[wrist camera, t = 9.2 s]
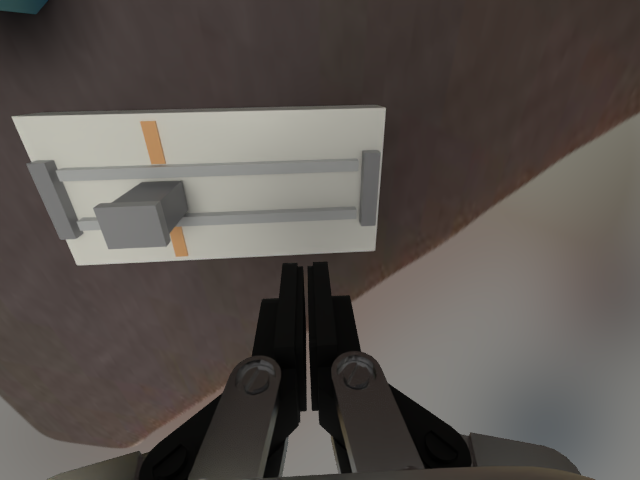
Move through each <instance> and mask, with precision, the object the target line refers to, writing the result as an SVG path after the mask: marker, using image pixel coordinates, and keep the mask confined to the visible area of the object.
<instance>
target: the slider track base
mask: <svg viewBox="0 0 640 480" xmlns="http://www.w3.org/2000/svg"><path fill="white" fill-rule="evenodd" d="M385 113H386V108H385V107H382V106H379V105H340V106H297V107H253V108H209V109H165V110H121V111H77V112H41V113H34V114H26V115H19V116H12V119H13V121H14V124H15V126H16V128H17V130H18V133H19V135H20V137H21V139H22V142H23V144H24V146H25V149H26V151H27V153H28V155H29V158H30V160H31V162H30V163H27V164H26V165H27V167H28V169H29V171H30V173H31V176H32V178H33V180H34V182H35V185H36V187H37V189H38V191H39V193H40V196H41V198H42V200H43V202H44V205H45V207H46V209H47V211H48V213H49V216H50V218H51V220H52V222H53V224H54V227H55V229H56V231H57V233H58V236H59V238H60V240H65V239H66V241H67V244H68V246H69V248H70V250H71V253H72V255H73V257H74V259H75V262H76V264H77V265H97V264H117V263H138V262H158V261H178V260H199V259H219V258H240V257H260V256H280V255H301V254H321V253H341V252H362V251H375V245H376V232H377V219H378V206H379V193H380V179H381V166H382V153H383V140H384V127H385ZM159 181H182V183H183V188H184V192H185V196H186V201H187V205H188V211H187V212H186V214H185V215H184V216H183V217H182V219H181V220H180V221H179V222H178V224H177V225H176V226H175V227H174V229H173V230H172V231H171V232H170V234H169V235H170V239H171V241H170V243H169V244H168V245H167V247H147V248H125V249H108V247H107V244H106V242H105V239H104V236H103V234H102V231H101V228H100V226H99V223H98V220H97V218H96V215H95V212H94V210H93V208H94V207H95V206H97V205H98V204H100V203H112V202H113V201H115V200H116V199H118V198H119V197H120V196H122V195H123V194H125V193H126V192H128V191H129V190H131V189H132V188H134V187H135V186H137V185H138V184H140V183H141V182H159Z"/></svg>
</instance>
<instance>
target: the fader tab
mask: <svg viewBox="0 0 640 480" xmlns="http://www.w3.org/2000/svg"><path fill="white" fill-rule="evenodd" d="M93 210H94V212H95V215H96V218H97V220H98V223H99V226H100V228H101V231H102V234H103V236H104V239H105V242H106V244H107V247H108V249H125V248H147V247H167V245H168V244H169V243H170V241H171V239H170V235H169V234H170V232H171V231H172V230H173V229H174V227H175V226H176V225H177V224H178V222H179V221H180V220H181V219H182V217H183V216H184V215H185V214H186V212H187V211H188V205H187V201H186V196H185V192H184V188H183V183H182V181H159V182H141V183H140V184H138V185H137V186H135V187H134V188H132V189H131V190H129V191H128V192H126V193H125V194H123V195H122V196H120V197H119V198H118V199H116V200H115V201H113V202H112V203H100V204H98V205H97V206H95V207H94V208H93Z"/></svg>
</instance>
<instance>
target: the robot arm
mask: <svg viewBox="0 0 640 480" xmlns="http://www.w3.org/2000/svg"><path fill="white" fill-rule="evenodd" d="M308 315H309V352H310V353H309V354H310V377H311V399H312V411H318V410H319V423H320V425H321V426H322V427H323V428H324V429H325V430H326V431H327V432H328V433H330V434H331V442H332V447H333V451H334V456H335V460H336V465H337V469H338V474H327V475H310V476H293V477H282V474H283V468H284V463H285V458H286V452H287V446H288V436H289V435H290V434H291V433H292V432H293V431H294V430H295V429H296V428H297V427H298V425H299V422H300V411H306V410H307V405H306V404H307V403H306V402H307V401H306V400H307V399H306V316H305V296H304V275H303V266H301V267H298V265H297V263H283V265H282V275H281V284H280V294H279V298H274V299H262V302H261V307H260V313H259V318H258V324H257V330H256V335H255V341H254V347H253V352H252V357H249V358H246V359H245V360H243V361H241V362H240V363H239V364H238V365H237V366H236V367H235V368H234V369H233V371H232V372H231V374H230V376H229V379H228V381H227V384H226V386H225V389H224V391H223V393H222V394H221V395H219V396H218V397H217V398H216V399H214V400H213V401H212V402H211V403H209V404H208V405H207V406H206V407H204V408H203V409H202V410H200V411H199V412H198V413H197V414H195V415H194V416H193V417H191V418H190V419H189V420H188V421H186V422H185V423H184V424H182V425H181V426H180V427H179V428H177V429H176V430H175V431H173V432H172V433H171V434H170V435H168V436H167V437H166V438H165V439H163V440H162V441H161V442H159V443H158V444H157V445H156V446H155V447H154V448H153V449H152V450H151V451H150V452H148V453H144V454H141V453H140V451H137V452H133V453H130V454H126V455H123V456H120V457H116V458H113V459H109V460H106V461H102V462H99V463H95V464H92V465H88V466H85V467H81V468H78V469H74V470H71V471H67V472H64V473H60V474H58V475H56V476H53V477H51V478H49V479H47V480H595V479H592V478H589V477H586V476H582V475H581V474H580V472H579V471H578V469H577V467H576V466H575V465H574V464H573V463H572V462H570V460H569V459H568V458H567V457H565V456H564V455H562V454H561V453H559V452H558V451H556V450H554V449H552V448H549V447H546V446H542V445H536V444H531V443H525V442H520V441H514V440H509V439H504V438H498V437H493V436H487V435H482V434H476V433H470V435H469V436H466V435H461V434H459V433H458V432H457V431H456V430H455V429H453V428H452V427H451V426H449V425H448V424H446V423H445V422H444V421H442V420H441V419H439V418H438V417H436V416H435V415H433V414H432V413H431V412H429V411H428V410H426V409H425V408H423V407H422V406H420V405H419V404H417V403H416V402H414V401H413V400H411V399H410V398H409V397H407V396H406V395H404V394H403V393H401V392H400V391H398V390H397V389H396V388H394V387H393V386H391V385H390V384H388V383H387V381H386V378H385V376H384V373H383V371H382V369H381V367H380V365H379V364H378V362H377V361H376V360H375V359H374V358H373V357H372V356H370V355H368V354H366V353H363V352H361V349H360V344H359V339H358V334H357V329H356V325H355V319H354V314H353V309H352V304H351V299H350V296H349V295H348V296H331V288H330V279H329V271H328V263H327V262H313V266H308Z"/></svg>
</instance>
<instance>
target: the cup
mask: <svg viewBox="0 0 640 480" xmlns="http://www.w3.org/2000/svg"><path fill="white" fill-rule="evenodd" d="M47 1H48V0H0V10H1V11H10V12H19V13H28V14H37V13H38V12H39V11H40V9H41V8H42V7H43V6H44V5H45V3H46V2H47Z"/></svg>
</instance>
